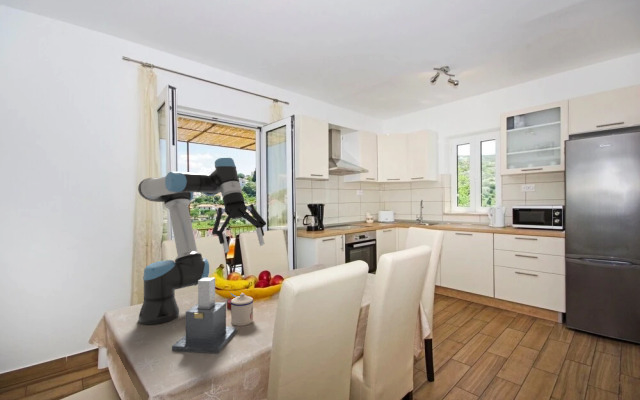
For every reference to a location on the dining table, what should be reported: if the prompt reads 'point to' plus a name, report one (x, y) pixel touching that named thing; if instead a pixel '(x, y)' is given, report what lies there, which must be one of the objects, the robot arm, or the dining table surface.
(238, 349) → the dining table surface
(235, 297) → the canned food
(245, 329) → the dining table surface
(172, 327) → the dining table surface
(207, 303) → the post
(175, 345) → the stand
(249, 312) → the teacup with lid
